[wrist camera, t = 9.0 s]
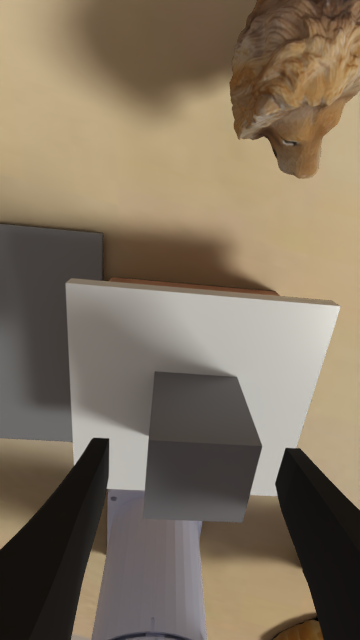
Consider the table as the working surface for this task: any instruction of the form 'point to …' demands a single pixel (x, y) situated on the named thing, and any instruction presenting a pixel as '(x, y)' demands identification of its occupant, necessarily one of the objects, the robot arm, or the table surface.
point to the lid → (192, 389)
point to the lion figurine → (295, 76)
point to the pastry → (302, 632)
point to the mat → (39, 326)
